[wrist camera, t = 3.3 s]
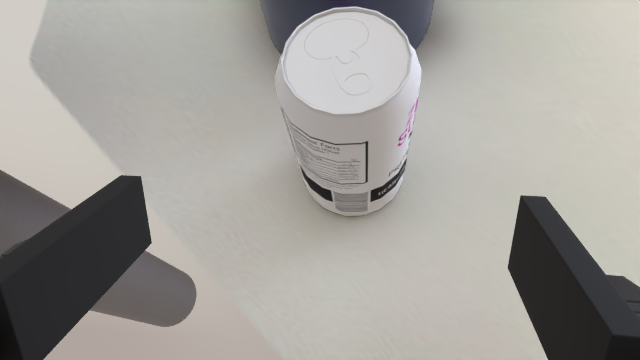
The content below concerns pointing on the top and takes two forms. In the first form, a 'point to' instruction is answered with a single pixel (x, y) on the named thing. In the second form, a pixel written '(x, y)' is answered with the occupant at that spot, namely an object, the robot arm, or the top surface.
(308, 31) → the supplement can
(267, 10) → the pot
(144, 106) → the top surface
